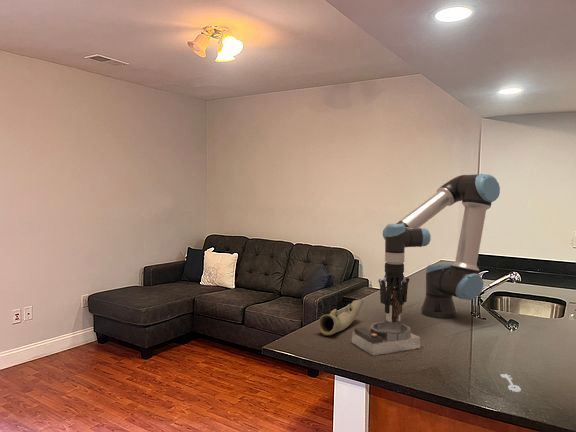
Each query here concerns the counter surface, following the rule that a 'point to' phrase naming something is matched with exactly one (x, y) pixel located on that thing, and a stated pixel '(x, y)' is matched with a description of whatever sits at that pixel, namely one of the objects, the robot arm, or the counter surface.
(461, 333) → the counter surface
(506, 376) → the key
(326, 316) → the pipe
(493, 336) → the counter surface
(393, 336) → the white flat device
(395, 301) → the figurine
